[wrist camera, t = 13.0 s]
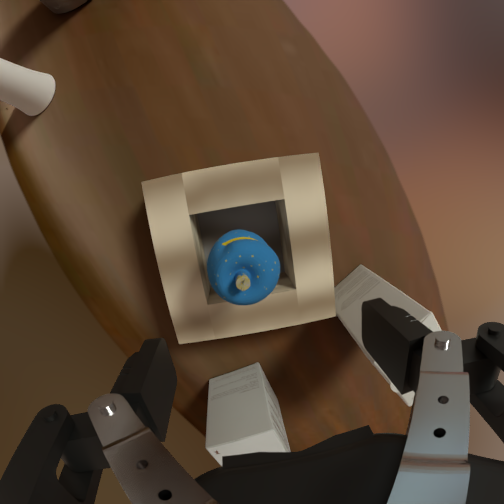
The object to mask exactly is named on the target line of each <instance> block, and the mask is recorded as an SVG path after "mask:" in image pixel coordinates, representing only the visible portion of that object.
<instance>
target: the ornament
mask: <svg viewBox="0 0 504 504" xmlns="http://www.w3.org/2000/svg"><path fill="white" fill-rule="evenodd" d="M207 274H208V278H209V281H210V284H211V286H212V288H213V289H214V290H215V292H216V293H217V294H218V295H219V296H220V297H221V298H222V299H224V300H225V301H227V302H229V303H232V304H235V305H252V304H255V303H258V302H260V301H262V300H263V299H265V298H266V297H267V296H268V295H269V294H270V293H271V292H272V291H273V290H274V288H275V286H276V284H277V282H278V279H279V275H280V262H279V259H278V257H277V255H276V253H275V252H274V251H273V250H272V249H271V248H270V247H269V246H268V245H267V243H266V242H265V241H264V240H263V239H262V238H261V237H260V236H258V235H257V234H255V233H253V232H250V231H246V230H241V229H237V230H232V231H229V232H227V233H226V234H224V235H223V236H221V237H220V238H219V239H218V240H217V241H216V243H215V244H214V246H213V247H212V249H211V251H210V253H209V256H208V260H207Z"/></svg>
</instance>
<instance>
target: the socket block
mask: <svg viewBox="0 0 504 504" xmlns="http://www.w3.org/2000/svg"><path fill="white" fill-rule="evenodd" d="M142 188H143V194H144V200H145V205H146V211H147V216H148V221H149V226H150V231H151V236H152V241H153V245H154V250H155V255H156V259H157V263H158V268H159V272H160V276H161V280H162V284H163V288H164V292H165V296H166V300H167V304H168V307H169V311H170V315H171V318H172V322H173V325H174V329H175V332H176V336H177V339H178V342H179V344H184V343H192V342H199V341H206V340H213V339H220V338H227V337H233V336H239V335H245V334H251V333H257V332H262V331H268V330H273V329H279V328H284V327H289V326H294V325H299V324H303V323H308V322H313V321H317V320H322V319H326V318H331V317H335V316H336V310H335V293H334V279H333V267H332V255H331V245H330V235H329V226H328V217H327V209H326V201H325V193H324V186H323V179H322V172H321V165H320V159H319V153H311V154H301V155H293V156H284V157H276V158H269V159H261V160H254V161H248V162H241V163H235V164H229V165H223V166H217V167H211V168H206V169H200V170H195V171H190V172H185V173H180V174H175V175H171V176H166V177H161V178H157V179H152V180H148V181H144V182H142ZM237 229H241V230H246V231H250V232H253V233H255V234H257V235H258V236H260V237H261V238H262V239H263V240H264V241H265V242H266V243H267V245H268V246H269V247H270V248H271V249H272V250H273V251H274V252H275V253H276V255H277V257H278V259H279V262H280V275H279V279H278V282H277V284H276V286H275V288H274V290H273V291H272V292H271V293H270V294H269V295H268V296H267V297H266V298H265V299H263V300H262V301H260V302H258V303H255V304H252V305H235V304H232V303H229V302H227V301H225V300H224V299H222V298H221V297H220V296H219V295H218V294H217V293H216V292H215V290H214V289H213V288H212V286H211V284H210V281H209V278H208V274H207V260H208V256H209V253H210V251H211V249H212V247H213V246H214V244H215V243H216V241H217V240H218V239H219V238H220V237H221V236H223V235H224V234H226V233H227V232H229V231H232V230H237Z"/></svg>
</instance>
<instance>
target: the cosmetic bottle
mask: <svg viewBox="0 0 504 504" xmlns="http://www.w3.org/2000/svg"><path fill="white" fill-rule="evenodd" d="M54 92H55V80H54V78H53V77H52V76H51V75H49V74H45V73H41V72H37V71H34V70H30V69H27V68H25V67H22V66H19V65H17V64H14V63H12V62H9V61H7V60H4V59H2V58H0V100H1V101H3V102H6V103H8V104H10V105H12V106H14V107H16V108H18V109H19V110H21V111H22V112H24V113H25V114H27V115H29V116H35V115H38V114H39V113H41V112H42V111H44V110H45V109H46V107H47V106H48V105H49V103H50V102H51V100H52V98H53V96H54Z"/></svg>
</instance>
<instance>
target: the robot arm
mask: <svg viewBox="0 0 504 504" xmlns="http://www.w3.org/2000/svg"><path fill="white" fill-rule="evenodd" d="M40 1H41V2H42V3H43V4H44V5H45V6H46V7H47V8H49V9H50V10H51V11H52V12H53V13H57V14H59V13H65V12H69V11H71V10H73V9H75V8H77V7H79V6H80V5H82V4H84V3H85V2H86V1H87V0H40ZM361 312H362V342H363V345H364V347H365V349H366V350H367V352H368V353H369V354H370V355H371V357H372V358H373V359H374V360H375V362H376V363H377V364H378V365H379V367H380V368H381V369H382V370H383V372H384V373H385V374H386V375H387V377H388V378H389V379H390V381H391V382H392V383H393V384H394V386H395V387H396V388H397V389H398V391H399V392H400V393H401V395H403V394H406V393H408V392H411V391H414V393H415V395H414V399H413V404H412V409H411V414H410V418H409V422H408V427H407V431H406V435H403V434H396V433H376V434H373V432H372V431H371V429H370V427H369V425H367V426H364V427H361V428H358V429H355V430H352V431H348V432H345V433H342V434H338V435H335V436H333V437H331V438H329V439H327V440H324V441H322V442H320V443H318V444H316V445H314V446H312V447H309V448H307V449H305V450H303V451H299V452H254V453H247V454H239V455H231V456H222V467H219V468H216V469H214V470H211V471H208V472H206V473H204V474H202V475H200V476H199V477H197V478H196V479H193V478H192V477H191V476H190V475H189V474H188V473H187V472H186V471H185V469H184V468H183V467H182V466H181V465H180V464H179V463H178V462H177V461H176V460H175V458H174V457H173V456H172V455H171V454H170V453H169V451H168V450H167V449H166V448H165V447H164V446H163V444H162V443H161V442H164V441H165V438H166V433H167V428H168V423H169V418H170V413H171V408H172V404H173V399H174V394H175V390H176V385H177V376H176V371H175V368H174V365H173V362H172V359H171V356H170V353H169V350H168V347H167V344H166V341H165V339H164V338H156V339H147V340H145V341H144V343H143V345H142V347H141V349H140V351H139V352H135V353H134V354H133V355H132V356H131V357H129V358H128V359H127V361H126V363H125V364H124V366H123V369H122V370H121V372H120V375H119V376H118V378H117V380H116V382H115V384H114V386H113V388H112V390H111V392H110V394H106V395H103V396H100V397H98V398H97V399H95V400H94V401H93V402H92V403H91V404H90V405H89V407H88V412H85V413H80V414H75V415H70V414H69V412H68V411H67V409H66V408H65V407H64V406H63V405H60V404H54V405H50V406H47V407H45V408H43V409H42V410H40V411H39V412H38V414H37V415H36V416H35V418H34V420H33V421H32V423H31V425H30V426H29V428H28V430H27V432H26V433H25V435H24V437H23V439H22V440H21V442H20V444H19V446H18V447H17V449H16V451H15V453H14V455H13V457H12V459H11V460H10V462H9V464H8V466H7V468H6V470H5V472H4V474H3V476H2V478H1V480H0V504H94V502H95V498H96V494H97V490H98V486H99V482H100V478H101V474H102V470H103V469H104V468H112V470H113V472H114V474H115V476H116V477H117V479H118V481H119V483H120V484H121V486H122V488H123V489H124V491H125V493H126V494H127V496H128V497H129V499H130V501H131V502H132V504H504V461H499V460H494V459H490V458H485V457H481V456H477V455H472V454H469V453H468V445H469V426H470V403H471V404H472V405H473V407H475V409H476V410H477V411H478V412H479V414H480V415H481V416H482V417H483V418H484V420H485V421H486V422H487V423H488V424H489V425H490V427H491V428H492V429H493V430H494V432H495V433H496V434H497V435H498V436H499V438H500V439H501V440H502V441H503V443H504V385H502V384H501V383H500V382H499V381H498V380H497V379H498V376H499V373H500V370H503V371H504V325H503V324H501V323H497V322H487V323H484V324H482V325H481V326H479V328H478V332H477V337H476V338H472V339H466V340H461V339H460V337H458V335H456V334H454V333H452V332H449V331H435V332H433V331H431V330H430V329H429V328H427V327H426V326H425V325H424V324H422V323H421V322H420V321H418V320H416V318H415V317H413V316H411V314H409V313H408V312H407V311H405V310H404V309H402V308H399V307H396V306H391V305H389V304H388V303H387V302H386V301H384V300H383V299H382V298H375V299H372V300H368V301H364V302H363V303H362V307H361ZM60 458H61V459H62V460H63V461H64V462H65V465H64V467H63V470H62V472H61V475H60V477H59V480H58V479H57V476H56V468H57V466H58V463H59V461H60Z"/></svg>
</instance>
